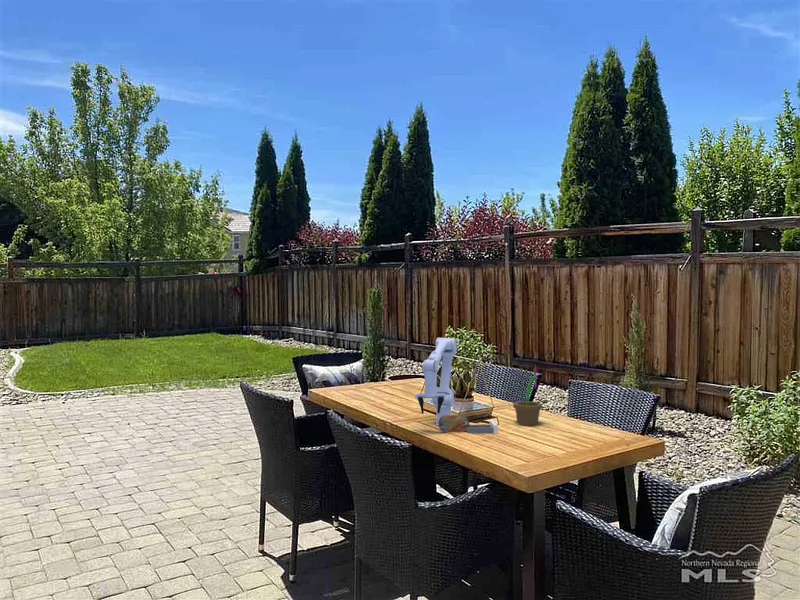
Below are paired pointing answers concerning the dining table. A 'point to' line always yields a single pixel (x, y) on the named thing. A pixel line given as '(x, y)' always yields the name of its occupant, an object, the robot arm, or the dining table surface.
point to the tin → (453, 423)
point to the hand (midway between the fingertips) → (430, 413)
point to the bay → (483, 428)
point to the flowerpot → (528, 409)
